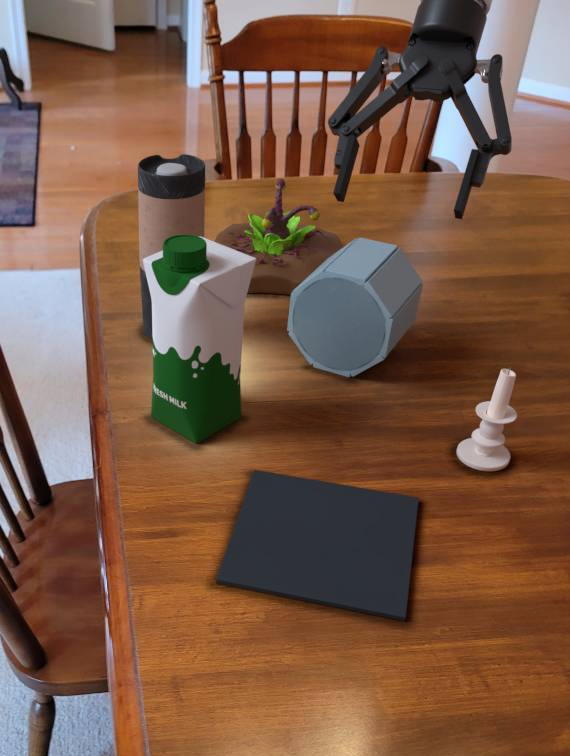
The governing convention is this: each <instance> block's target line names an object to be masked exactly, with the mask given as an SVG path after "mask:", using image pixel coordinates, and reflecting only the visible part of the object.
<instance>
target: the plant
mask: <svg viewBox="0 0 570 756" xmlns="http://www.w3.org/2000/svg"><path fill="white" fill-rule="evenodd" d="M286 187H287V182H286V181H285V179H283V178H279V179H278V180H276V182H275V189H276V195H275V197H274V198H275V202H274V205H273V207H271V208H270V210H269V212H268V211H267V212H266V213H265V216H264V218H261V217H260V216H258V215H256V214H252V213H248V215H247V217H248V220H249V221H250V222H249V223H248V222H242V223H232V224H231V225H229V226H227V227H225V228H224V229H223V230H222V231H220V232H219V233H217V235H216V236H215V240H214V242H216V243H219V244H221V245H224V246H226V247H229V248H231V249H234V250H236V251H239V252H242V253H244V254H247V255H249V256H252V257H254V258H256V262H255V266H254V270H253V273H252V277H251V281H250V285H249V288H248V292H247V294H260V293H261V294H262V293H263V294H274V295H286V296H291V293H293V292H292V291H293V290H294V289H295V288H296V287H298V286H299V285H300V284H301V283H302V282H303V281H304V280H305V279H306V278H307V277H308V276H309V275H310V274H312V273H313V272H314V271H315V270H316V269H317V268H318V267H319V266H320V265H321V264H322V263H323V262H324V261H326V260H327V259H328V258H329V257H331V256H332V255H333V254H335V253H336V252H338V251H339V250H340V249H342V248H343V247H344V246H343V243H342V240H341V239H340V237H339V236H338V234H336V233H334V232H330V231H327V230H325V229H322V228H319V227H318V226H317V225H304V224H300V222H301V216H300V215H299V216H296V215H297V214H298V213H300V212H303V211H308V214H309V218H310V220H311V221H313V222H314V221H319V218H320V217H321V216H320V210H318V208H317V207H314V206H312V205H310V206H309V205H299V206H297V207H295V208H294V209H292V210H290V211H287V212H284V210H283V196H282V195H283V191H284V190H285V189H286Z"/></svg>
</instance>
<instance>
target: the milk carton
mask: <svg viewBox="0 0 570 756" xmlns="http://www.w3.org/2000/svg"><path fill="white" fill-rule="evenodd" d="M255 262H256V258H254V257H252V256H249V255H247V254H244V253H242V252H239V251H236V250H234V249H231V248H229V247H226V246H224V245H221V244H219V243H216V242H215V240H214V241H213V240H211V239H209V238H206V237H205V236H204V237H201V236H199V237H198V236H194V235H175V236H171V237H169V238H167V239H166V240H165V241H164V242H163V250H162V251H160V252H158V253H155V254H153V255H151V256H148V257H146V258H144V259H143V264H144V268H145V272H146V277H147V281H148V286H149V290H150V295H151V301H152V336H153V339H152V386H151V387H152V389H151V407H150V418H151V419H153V420H155V421H157V422H158V423H160V424H162V425H163V426H166V427H167V428H168V429H170V430H172V431H174V432H175V433H177V434H179V435H181V436H182V437H184V438H186V439H187V440H189V441H191V442H193V443H195V444H199V443H200V442H202V441H204V440H205V439H207V438H208V437H210V436H212V435H214V434H215V433H217V432H219V431H220V430H222V429H224V428H225V427H227V426H229V425H230V424H232V423H234V422H235V421H237V420H239V419H241V418H243V416H242V390H241V389H242V388H241V369H242V355H243V354H242V353H243V336H244V321H245V307H246V299H247V297H248V293H247V292H248V288H249V285H250V281H251V277H252V273H253V270H254V266H255Z"/></svg>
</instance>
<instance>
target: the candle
mask: <svg viewBox="0 0 570 756" xmlns="http://www.w3.org/2000/svg"><path fill="white" fill-rule="evenodd" d="M511 368H512V367H511V366H509V367H508V368H501V369H500V372H499V375H498V378H497V380H496V383H495V385H494V389H493V392H492V396H491V399H490V400H486V401H482V402H479V403H478V404H476V406H475V413H476V415H477V416H478V418H480V419H482V420H481V421H480V423H479V427H478V428H476V429H474V430H473V431H472V433H471V435H470V437H469V438H466V439H464V440H461V441H460V442H459V443H458V445H457V448H456V449H455V451H456V456H457V458H458V459H459V461H460V462H461V463H463V464H464V465H465V466H467V467H469V468H471V469H473V470H477V471H481V472H497V471H501V470H503V469H505V468H506V467H507V466H508V465H509V464H510V461H511V453H510V451H509V450H508V448H507V447H506V446H504V445H505V442H506V437H505V435H504V434H503V431H504V429H505V425H507V424H511V423H514V421H516V420H517V417H518V412H517V411H516V410H515V408H513V407H512V406H511V405H509V403H510V400H511V397H512V393H513V390H514V386H515V382H516V378H517V373H515V371H513V370H511Z"/></svg>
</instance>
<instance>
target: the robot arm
mask: <svg viewBox="0 0 570 756" xmlns="http://www.w3.org/2000/svg"><path fill="white" fill-rule="evenodd" d="M492 3H493V0H420V4H419V5H418V7H417V8H416V9H417V10H416V13H415V17H414V21H413V24H412V28H411V31H410V34H409V38H408V41H407V45H406V47H405V49H404V50H403V51H402V52H401V53H398V52H395V51H389V50H388V47H387V46H386V45H380V46H378V47H377V48H376V50H375V53H374V55H373V57H372V60H371V63H370V65H369V67H368V68H367V69H366V70H365V72H364V73H363V74H362V75H361V77H360V78H359V79H358V81H356V83H355V84H354V86H353V87H352V88H351V89H350V91H349V92H348V93H347V94H346V96H345V97H344V98H343V100H342V101H341V102H340V104H339V105H338V106H337V108H336V109H335V110H334V111H333V112H332V114H331V115H330V117H329V118H328V119H327V125H328V128H329V129H330V133H331V134H332V135H333V136H337V137H339V140H338V144H337V147H336V151H335V155H334V157H333V164H334V166H335V168H336V170H339V171H338V174H337V178H336V181H335V185H334V189H333V196H334V197H335V199H336V201H337V202H339V203H344V202H345V199H346V197H347V193H348V189H349V185H350V182H351V179H352V174H353V171H354V167H355V165H356V164H355V163H356V160H357V157H358V153H359V149H360V143H359V140H358V138H359V137H360V136H362V135H363V134H364V133H365V132H367V131H368V130H369V129H370V128H372V127H373V126H374V125H375V124H376V123H377V122H379V120H381V119H382V118H383V117H384V116H386V115H387V114H388V113H389V112H390V111H392V110H393V109H394V108H395V107H396V106H398V105H399V104H403V103H404V102H405V101H406V100H408V99H409V98H410V97H413V98H414V100H415V101H420V102H421V101H428V100H429V101H432V102H434V103H444V101H447V100H449V99H451V101H452V102H453V104H454V107H455V108H456V110H457V111H458V113H459V115H460V117H461V119H462V120H463V123H464V125H465V127H466V129H467V131H468V133H469V135H470V137H471V139H472V141H473V142H474V144H475V147H476V148H471V150H470V154H469V157H468V161H467V164H466V167H465V171H464V174H463V177H462V181H461V184H460V187H459V191H458V194H457V197H456V201H455V205H454V208H453V214H454V218H455V219H456V220H463V217H464V215H465V211H466V207H467V204H468V201H469V197H470V194H471V191H472V188H478V189H479V188H481V187H482V186H483V184H484V182H485V179H486V175H487V172H488V169H489V166H490V163H491V160H492V159H493V157H496V156H499V155H501V156H502V155H503V156H507V155H509V154H510V153H511V152H512V149H513V148H512V145H513V143H512V141H513V139H512V133H511V128H510V123H509V118H508V112H507V108H506V102H505V97H504V92H503V86H502V82H501V81H502V77H503V71H504V70H503V65H504V64H503V63H504V62H503V56H502V55H501V54H499V53H495V54H494V55H492V56H491V57H490V59H477V54H478V50H479V47H480V44H481V40H482V37H483V33H484V30H485V27H486V23H487V19H488V17H487V15H488V14H489V12H490V11H491V7H492ZM394 68H399V72H400V74H398V75H397V76H396V77H395V78H394V79H393V80H392V81H391V83H390V84H389V86H387V87H386V88H385V89H384V90H383V91H381V93H379V94H378V95H377V96H375V98H373V99H372V100H370V102H368V104H366V105H365V103H366V102H367V101H368V99H369V98H370V97H371V96H372V94H373V93H374V92H375V90H376V89H377V88H378V87H379V85H380V84H381V83H382V81H383V80H384V77H385V75H386V76H387V75H390V73H391V72H392V71H393V69H394ZM476 74H477V75H479V76H480V80H481V82H482V83H484V84H487V90H488V98H489V102H490V108H491V114H492V118H493V124H494V129H495V135H496V138H491V137H490V134H489V133H488V131H487V129H486V127H485V125H484V123H483V120H482V118H481V117H480V115H479V113H478V111H477V109H476V107H475V105H474V103H473V101H472V99H471V97H470V95H469V92H468V90H467V88H466V84H467V83H468V82H469V81H470V80H471V79H472V78H474V77H475V75H476ZM363 105H365V106H364V107H363ZM362 107H363V108H362ZM361 108H362V109H361Z"/></svg>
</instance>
